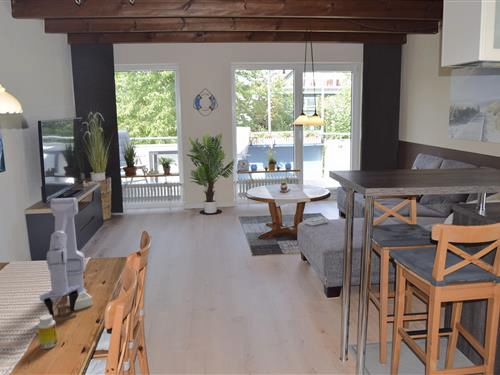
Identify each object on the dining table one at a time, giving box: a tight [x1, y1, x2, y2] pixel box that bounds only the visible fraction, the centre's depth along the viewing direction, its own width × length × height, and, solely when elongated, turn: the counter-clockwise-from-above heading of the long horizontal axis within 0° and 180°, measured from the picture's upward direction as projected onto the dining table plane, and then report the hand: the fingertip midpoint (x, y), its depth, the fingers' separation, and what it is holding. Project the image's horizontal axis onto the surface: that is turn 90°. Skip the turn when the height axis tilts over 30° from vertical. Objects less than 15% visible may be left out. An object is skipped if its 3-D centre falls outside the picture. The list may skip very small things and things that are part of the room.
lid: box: [48, 303, 77, 324], centre depth 176 cm, size 8×8×4 cm
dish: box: [66, 292, 94, 312], centre depth 186 cm, size 8×8×4 cm
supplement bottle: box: [37, 314, 58, 349], centre depth 154 cm, size 6×6×10 cm
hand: (62, 313), depth 176 cm, fingers open, 7 cm apart
